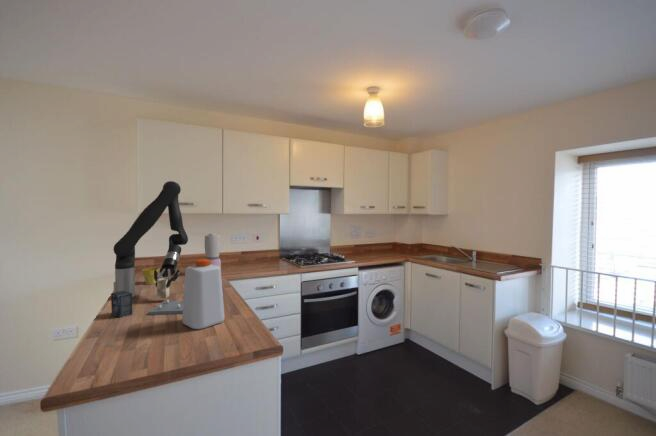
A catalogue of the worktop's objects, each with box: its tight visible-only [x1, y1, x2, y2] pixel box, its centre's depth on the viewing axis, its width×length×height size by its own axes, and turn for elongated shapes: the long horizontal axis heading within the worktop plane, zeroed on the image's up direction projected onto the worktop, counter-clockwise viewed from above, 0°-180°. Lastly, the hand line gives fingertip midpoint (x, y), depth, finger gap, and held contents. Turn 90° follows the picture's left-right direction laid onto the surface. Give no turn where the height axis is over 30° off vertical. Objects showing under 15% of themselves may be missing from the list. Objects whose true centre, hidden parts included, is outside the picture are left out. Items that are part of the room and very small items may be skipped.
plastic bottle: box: [181, 258, 225, 330], centre depth 134 cm, size 15×15×28 cm
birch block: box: [156, 277, 170, 300], centre depth 165 cm, size 4×4×10 cm
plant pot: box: [141, 267, 161, 285], centre depth 206 cm, size 10×10×10 cm
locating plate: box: [148, 298, 184, 316], centre depth 152 cm, size 16×16×4 cm
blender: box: [204, 232, 222, 270], centre depth 234 cm, size 16×12×32 cm
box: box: [110, 291, 133, 318], centre depth 144 cm, size 8×6×11 cm
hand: (162, 286), depth 164 cm, fingers closed on birch block, 4 cm apart
